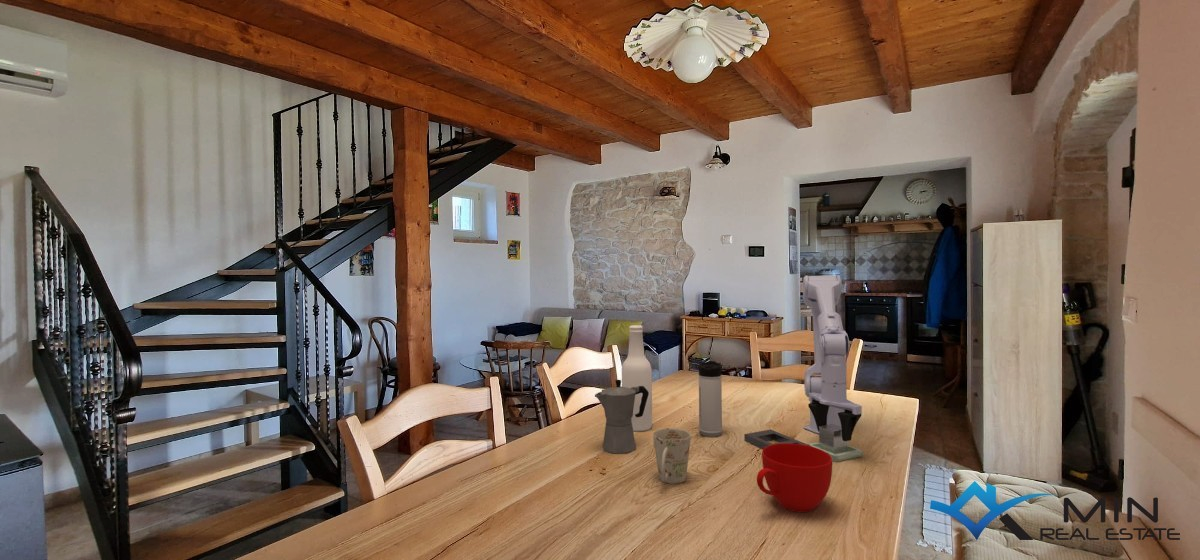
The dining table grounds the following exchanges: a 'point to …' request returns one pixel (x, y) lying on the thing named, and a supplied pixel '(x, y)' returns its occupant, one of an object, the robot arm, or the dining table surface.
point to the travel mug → (710, 399)
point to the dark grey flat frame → (769, 438)
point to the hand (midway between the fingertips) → (834, 435)
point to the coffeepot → (620, 416)
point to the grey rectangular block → (832, 439)
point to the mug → (672, 454)
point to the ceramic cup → (796, 475)
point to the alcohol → (638, 378)
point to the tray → (850, 453)
